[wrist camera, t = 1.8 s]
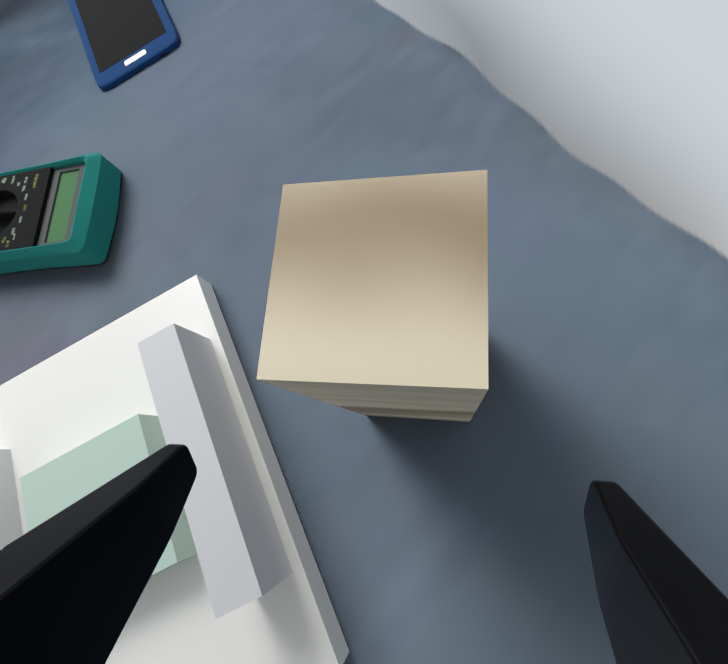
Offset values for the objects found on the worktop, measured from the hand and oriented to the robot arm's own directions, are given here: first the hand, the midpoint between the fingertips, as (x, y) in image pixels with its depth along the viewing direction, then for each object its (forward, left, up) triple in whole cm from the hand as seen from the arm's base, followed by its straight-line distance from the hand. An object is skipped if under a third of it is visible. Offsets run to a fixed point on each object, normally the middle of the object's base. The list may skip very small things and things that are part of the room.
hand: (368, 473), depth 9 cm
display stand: (+10, +11, -11) cm, 19 cm away
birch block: (+3, -4, -11) cm, 12 cm away
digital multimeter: (+30, +5, -12) cm, 33 cm away
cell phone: (+40, -12, -12) cm, 43 cm away
